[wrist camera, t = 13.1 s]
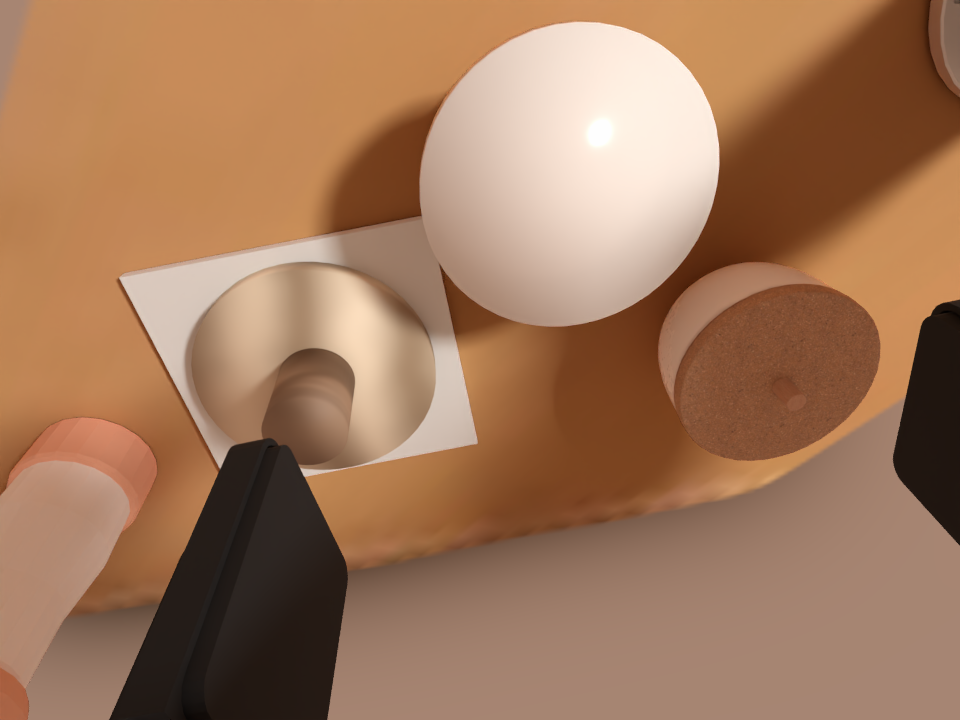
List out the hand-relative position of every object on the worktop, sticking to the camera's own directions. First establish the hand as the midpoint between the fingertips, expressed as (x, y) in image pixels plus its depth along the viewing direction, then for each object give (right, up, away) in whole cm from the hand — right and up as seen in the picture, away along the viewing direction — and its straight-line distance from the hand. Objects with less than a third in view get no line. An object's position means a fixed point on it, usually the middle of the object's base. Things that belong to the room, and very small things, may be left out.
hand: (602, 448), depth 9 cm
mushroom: (+1, +12, +23) cm, 26 cm away
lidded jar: (+13, +4, +30) cm, 33 cm away
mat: (-12, +1, +29) cm, 31 cm away
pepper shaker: (-27, -5, +31) cm, 41 cm away
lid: (-12, +1, +28) cm, 30 cm away
